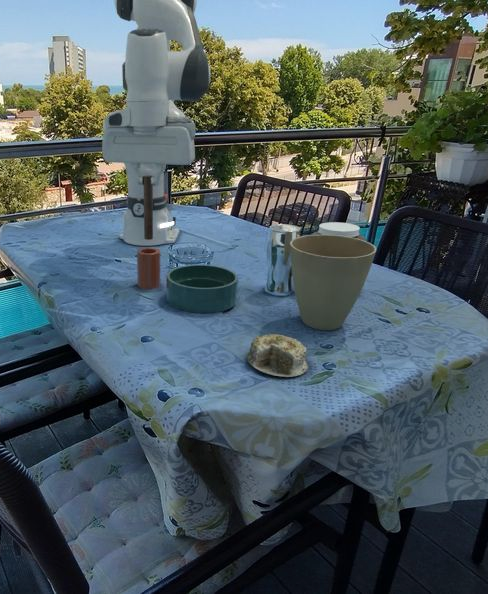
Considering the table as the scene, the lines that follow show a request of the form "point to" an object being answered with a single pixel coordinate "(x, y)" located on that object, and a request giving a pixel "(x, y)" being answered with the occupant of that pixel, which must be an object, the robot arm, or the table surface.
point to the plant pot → (328, 277)
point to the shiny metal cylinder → (280, 259)
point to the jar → (339, 230)
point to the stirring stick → (148, 208)
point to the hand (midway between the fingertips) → (148, 184)
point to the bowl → (202, 288)
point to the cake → (278, 355)
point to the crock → (148, 268)
